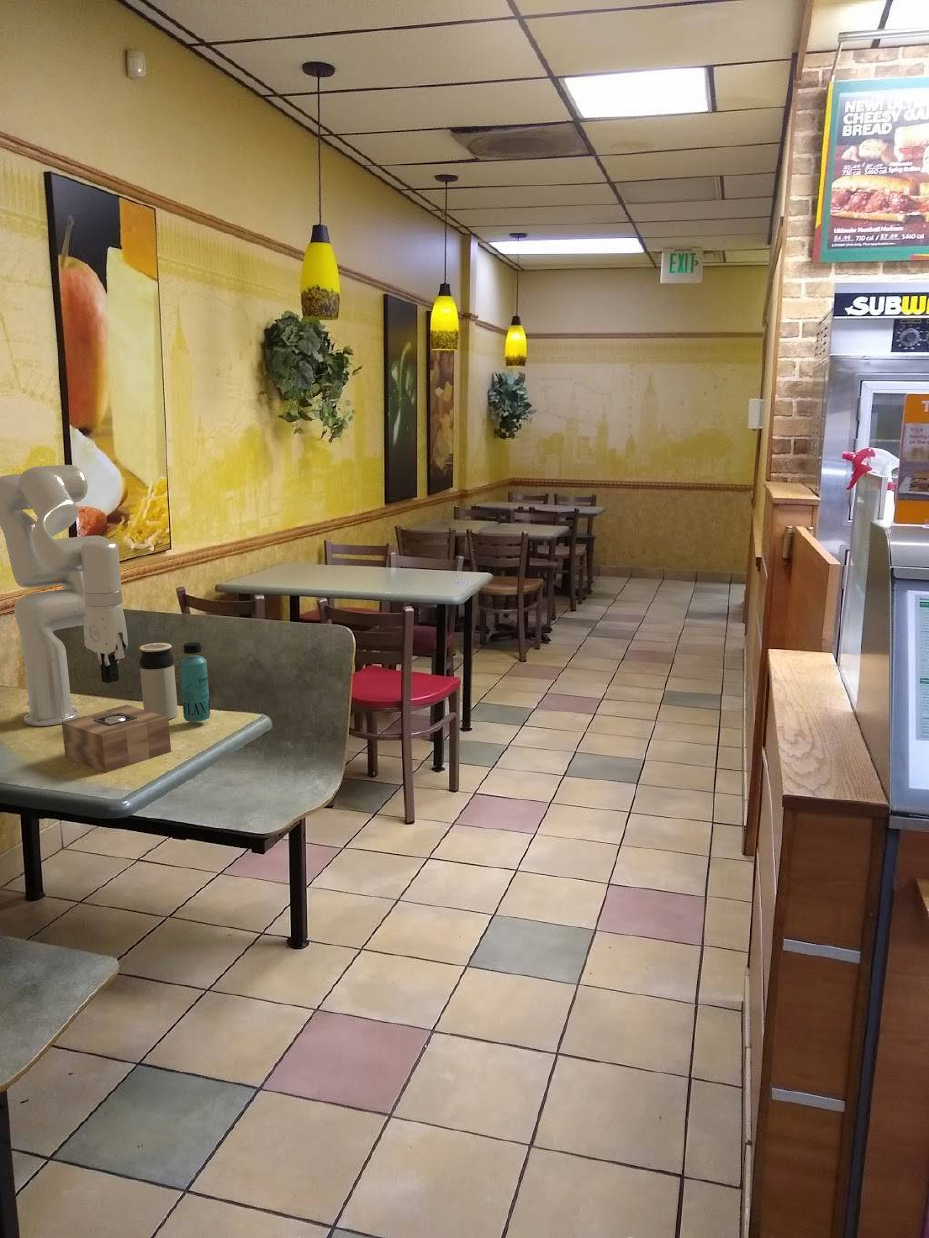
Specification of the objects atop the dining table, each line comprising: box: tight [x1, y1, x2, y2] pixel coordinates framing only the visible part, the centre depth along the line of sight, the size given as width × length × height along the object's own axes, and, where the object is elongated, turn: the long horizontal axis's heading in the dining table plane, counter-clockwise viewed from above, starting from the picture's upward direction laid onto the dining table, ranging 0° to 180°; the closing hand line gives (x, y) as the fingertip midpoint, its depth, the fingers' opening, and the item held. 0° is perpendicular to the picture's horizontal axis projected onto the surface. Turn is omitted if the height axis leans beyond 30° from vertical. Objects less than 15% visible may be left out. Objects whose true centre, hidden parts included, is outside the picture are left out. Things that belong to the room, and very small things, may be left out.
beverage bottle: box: [179, 641, 211, 723], centre depth 235 cm, size 6×7×20 cm
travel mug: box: [139, 642, 179, 720], centre depth 241 cm, size 8×8×18 cm
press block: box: [61, 704, 172, 773], centre depth 216 cm, size 16×16×8 cm
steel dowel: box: [105, 716, 126, 724], centre depth 216 cm, size 4×4×8 cm
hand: (110, 681), depth 214 cm, fingers closed
